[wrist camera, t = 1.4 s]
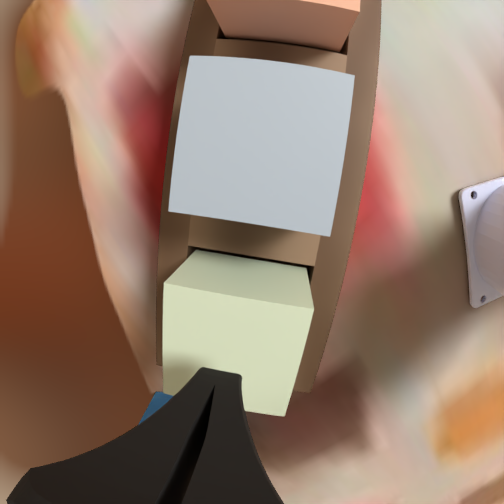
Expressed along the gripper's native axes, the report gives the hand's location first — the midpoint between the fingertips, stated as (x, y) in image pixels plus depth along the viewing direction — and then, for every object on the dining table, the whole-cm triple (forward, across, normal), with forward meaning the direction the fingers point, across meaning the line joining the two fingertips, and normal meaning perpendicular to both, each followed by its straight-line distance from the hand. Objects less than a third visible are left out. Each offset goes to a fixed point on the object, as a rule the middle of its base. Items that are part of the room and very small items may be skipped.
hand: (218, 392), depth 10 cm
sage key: (+7, 0, 0) cm, 7 cm away
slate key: (+7, 0, -8) cm, 10 cm away
